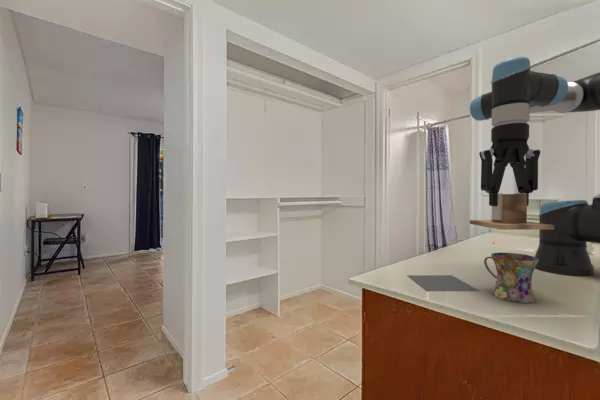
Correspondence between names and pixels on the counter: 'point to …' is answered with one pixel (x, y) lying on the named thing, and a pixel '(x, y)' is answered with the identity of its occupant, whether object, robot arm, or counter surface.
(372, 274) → the counter surface
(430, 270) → the counter surface
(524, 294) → the mug
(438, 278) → the mat
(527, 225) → the lid
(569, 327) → the counter surface
